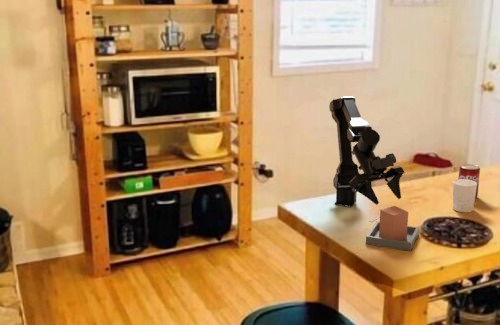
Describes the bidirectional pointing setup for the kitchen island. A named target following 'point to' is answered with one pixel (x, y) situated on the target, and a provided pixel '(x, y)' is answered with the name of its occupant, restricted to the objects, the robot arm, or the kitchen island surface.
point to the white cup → (464, 195)
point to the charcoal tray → (404, 244)
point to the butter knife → (375, 218)
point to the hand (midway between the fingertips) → (389, 201)
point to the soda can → (470, 174)
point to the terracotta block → (393, 223)
